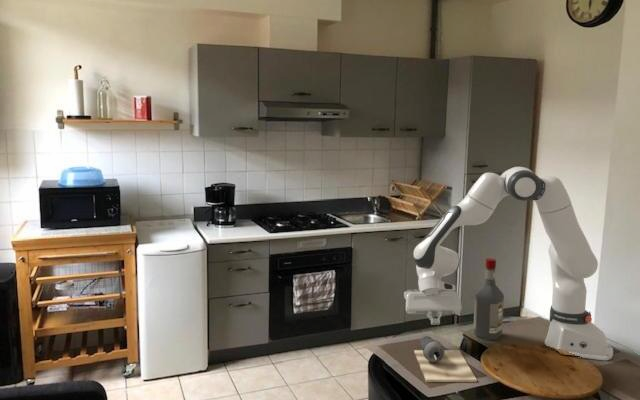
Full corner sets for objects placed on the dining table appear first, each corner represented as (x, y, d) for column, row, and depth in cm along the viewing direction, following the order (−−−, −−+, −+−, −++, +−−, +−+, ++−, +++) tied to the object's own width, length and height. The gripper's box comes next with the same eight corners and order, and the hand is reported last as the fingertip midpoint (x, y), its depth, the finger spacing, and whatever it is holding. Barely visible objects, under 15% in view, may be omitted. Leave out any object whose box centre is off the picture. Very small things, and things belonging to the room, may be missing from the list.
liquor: (470, 335, 210) (474, 259, 206) (481, 328, 217) (485, 255, 212) (493, 342, 204) (497, 264, 200) (504, 334, 211) (507, 259, 206)
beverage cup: (439, 347, 198) (454, 364, 178) (421, 355, 198) (434, 373, 178) (431, 328, 198) (445, 343, 178) (413, 337, 198) (425, 353, 178)
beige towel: (414, 352, 196) (414, 350, 196) (459, 352, 196) (459, 349, 196) (426, 382, 174) (426, 379, 174) (476, 381, 174) (476, 379, 174)
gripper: (404, 285, 203) (408, 320, 195) (459, 285, 203) (465, 320, 195) (402, 293, 208) (405, 327, 200) (455, 293, 208) (461, 327, 200)
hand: (435, 324), depth 197 cm, fingers closed
